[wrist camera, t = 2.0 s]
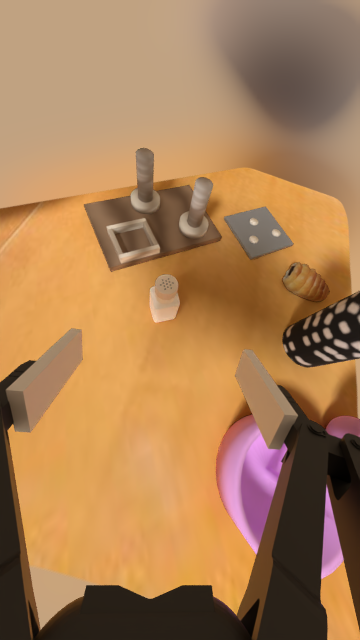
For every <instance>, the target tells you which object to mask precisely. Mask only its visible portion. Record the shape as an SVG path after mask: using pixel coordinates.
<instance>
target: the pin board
mask: <svg viewBox="0 0 360 640" xmlns="http://www.w3.org/2000/svg"><path fill="white" fill-rule="evenodd" d="M153 162H154V154H153V152H152V151H151V150H149V149H146V148H140V149H138V150H137V151H136V165H137V185H138V188H136V189H135V190H133V191H132V193H131V196H127V197H121V198H116V199H111V200H105V201H100V202H94V203H89V204H84V207H85V210H86V212H87V215H88V217H89V219H90V222H91V224H92V227H93V229H94V232H95V234H96V237H97V239H98V241H99V244H100V246H101V249H102V251H103V254H104V256H105V259H106V261H107V264H108V266H109V268H110V271H111V272H112V271H115V270H119V269H122V268H126V267H129V266H133V265H136V264H140V263H143V262H147V261H150V260H154V259H157V258H161V257H164V256H168V255H171V254H175V253H178V252H182V251H185V250H189V249H192V248H196V247H199V246H203V245H206V244H210V243H213V242H217V241H220V239H221V237H222V236H221V235H220V233H219V232H218V230H217V229H216V227H215V225H214V224H213V222H212V221H211V219H210V217H209V216H208V214H207V213H206V211H205V210H206V207H207V204H208V201H209V197H210V194H211V191H212V188H213V183H212V181H211V180H209V179H207V178H204V177H200V178H198V179H197V180H196V182H195V187H194V191H193V190H192V189H191V187H190V186H189V185H187V186H181V187H176V188H170V189H165V190H159V191H155V190H153V166H154V163H153Z"/></svg>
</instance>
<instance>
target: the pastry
mask: <svg viewBox="0 0 360 640" xmlns="http://www.w3.org/2000/svg"><path fill="white" fill-rule="evenodd" d="M283 283H284V284H285V287H286V288H287V289H288V290H289V291H291V292H293V293H294V294H295V295H297V296H300V297H302V298H305V299H308V300H311V301H322V300H324V299H325V298H326V297H327V295H328V294H329V292H330V291H329V288H328V286H327V285H326V283H325V281H324V280H323V279H321V276H320V274H317V273H316V271H315V269H310V268H309V266H308V265H307V264H302V265H301V263H300V262H298V263H294V264H292V265H291V267H290V269H289V270H287V272H286V276H284V277H283Z"/></svg>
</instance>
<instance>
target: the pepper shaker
mask: <svg viewBox="0 0 360 640" xmlns="http://www.w3.org/2000/svg"><path fill="white" fill-rule="evenodd" d="M177 291H178V281H177V280H176V278H175V277H173V276H172V275H168V274H163V275H161V276H159V277H158V278H157V279H156V281H155V286H153V287H152V288H150V309H151V313H152V317H153V320H154V322H162V321H167V320H172V319H174V318H175V317H176V314H177V311H178V308H179V305H180V301H179V297H178V293H177Z"/></svg>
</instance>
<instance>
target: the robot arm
mask: <svg viewBox="0 0 360 640" xmlns="http://www.w3.org/2000/svg"><path fill="white" fill-rule="evenodd" d="M82 360H83V357H82V330H79V329H70V330H69V331H68V332H67V333H66V334H65V335H64V336H63V337H62V338H61V339H59V340H58V341H57V342H56V343H55V344H54V345H53V346H52V347H51V348H50V349H49V350H48V351H47V352H46V353H45V354H43V355H42V356H41V357H40V358H39V359H38V360H37V361H31V360H30V361H28V362H26V363H24V364H21V365H20V366H19V367H18V368H17V369H15V370H14V372H12V373H11V374H10V375H9V376H8V377H6V378H5V379H4V380H3V381H1V382H0V640H327V614H326V609H325V608H324V607H323V605H322V604H321V600H320V589H321V572H322V555H323V537H324V520H325V503H326V485H327V489H328V493H329V498H330V502H331V506H332V511H333V515H334V520H335V524H336V528H337V533H338V537H339V542H340V546H341V550H342V555H343V559H344V564H345V568H346V572H347V577H348V581H349V586H350V590H351V594H352V599H353V603H354V608H355V612H356V616H357V621H358V625H359V630H360V437H358V436H356V435H353V434H350V433H347V434H345V435H344V436H343V437H342V439H341V438H338V437H335V436H332V435H329V434H328V433H327V431H326V430H325V429H324V428H323V427H322V426H321V425H319V424H318V423H316V422H314V421H311V420H309V419H308V418H307V416H306V415H305V414H304V412H303V411H302V410H301V408H300V407H299V406H298V404H297V403H296V402H295V400H294V399H293V398H292V396H291V395H290V394H289V392H288V391H287V390H286V389H285V388H283V387H282V386H280V385H276V383H275V382H274V380H273V379H272V378H271V376H270V375H269V373H268V372H267V370H266V369H265V368H264V366H263V365H262V363H261V362H260V360H259V359H258V358H257V356H256V355H255V353H254V352H253V350H247V349H243V352H242V355H241V358H240V362H239V365H238V368H237V371H236V374H235V377H236V379H237V381H238V383H239V386H240V388H241V390H242V392H243V394H244V397H245V399H246V401H247V403H248V406H249V408H250V410H251V412H252V414H253V417H254V419H255V421H256V423H257V426H258V428H259V430H260V432H261V434H262V437H263V439H264V441H265V443H266V446H267V448H268V449H277V450H280V449H281V447H282V446H283V444H284V443H285V445H286V447H287V451H286V453H285V455H284V457H283V459H282V460H281V462H282V463H283V464H282V467H281V471H280V474H279V478H278V481H277V485H276V488H275V492H274V495H273V499H272V502H271V506H270V509H269V513H268V516H267V520H266V523H265V527H264V531H263V534H262V538H261V541H260V545H259V548H258V552H257V555H256V559H255V562H254V566H253V569H252V573H251V576H250V580H249V583H248V587H247V590H246V592H245V595H244V597H243V600H242V602H241V605H240V607H239V610H238V613H237V616H236V615H235V613H234V612H233V611H232V610H231V609H230V608H229V607H228V606H227V605H225V604H224V603H223V602H222V601H220V600H219V599H217V598H215V597H213V592H212V585H182V586H180V587H178V588H176V589H173V590H171V591H169V592H167V593H164V594H162V595H160V596H158V597H155V598H153V599H148V598H145V597H143V596H141V595H139V594H136V593H134V592H132V591H130V590H127V589H125V588H123V587H121V586H119V585H87V586H86V590H85V594H84V596H83V597H80V598H78V599H76V600H74V601H73V602H71V603H69V604H68V605H66V606H65V607H64V608H63V609H61V610H60V611H59V612H58V613H57V614H56V615H55V616H54V617H52V618H51V619H50V620H49V621H48V623H47V624H46V625H45V626H44V627H43V628H42V629H41V630H40V624H39V618H38V612H37V607H36V602H35V597H34V592H33V587H32V581H31V575H30V568H29V562H28V556H27V549H26V543H25V537H24V531H23V524H22V518H21V512H20V505H19V499H18V493H17V487H16V480H15V474H14V468H13V461H12V455H11V449H10V443H9V436H8V432H7V430H8V429H9V428H10V427H11V425H12V424H13V425H14V429H15V431H18V432H31V431H32V430H33V428H34V427H35V426H36V424H37V423H38V421H39V420H40V419H41V417H42V416H43V414H44V413H45V412H46V410H47V409H48V407H49V406H50V404H51V403H52V402H53V400H54V399H55V397H56V396H57V395H58V393H59V392H60V390H61V389H62V388H63V386H64V385H65V383H66V382H67V381H68V379H69V378H70V376H71V375H72V374H73V372H74V371H75V369H76V368H77V367H78V365H79V364H80V362H81V361H82Z"/></svg>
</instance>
